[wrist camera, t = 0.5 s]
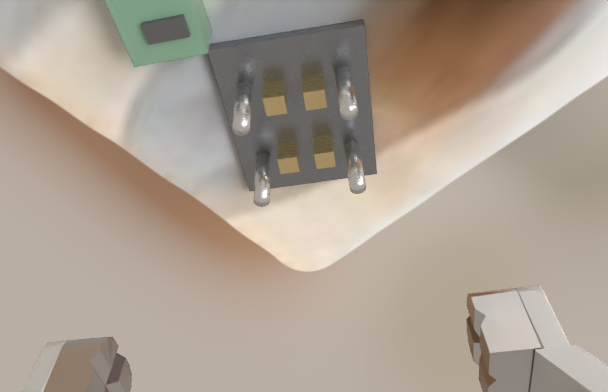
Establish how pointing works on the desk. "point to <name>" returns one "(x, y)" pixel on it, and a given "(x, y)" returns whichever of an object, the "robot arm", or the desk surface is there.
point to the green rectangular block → (161, 29)
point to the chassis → (299, 106)
